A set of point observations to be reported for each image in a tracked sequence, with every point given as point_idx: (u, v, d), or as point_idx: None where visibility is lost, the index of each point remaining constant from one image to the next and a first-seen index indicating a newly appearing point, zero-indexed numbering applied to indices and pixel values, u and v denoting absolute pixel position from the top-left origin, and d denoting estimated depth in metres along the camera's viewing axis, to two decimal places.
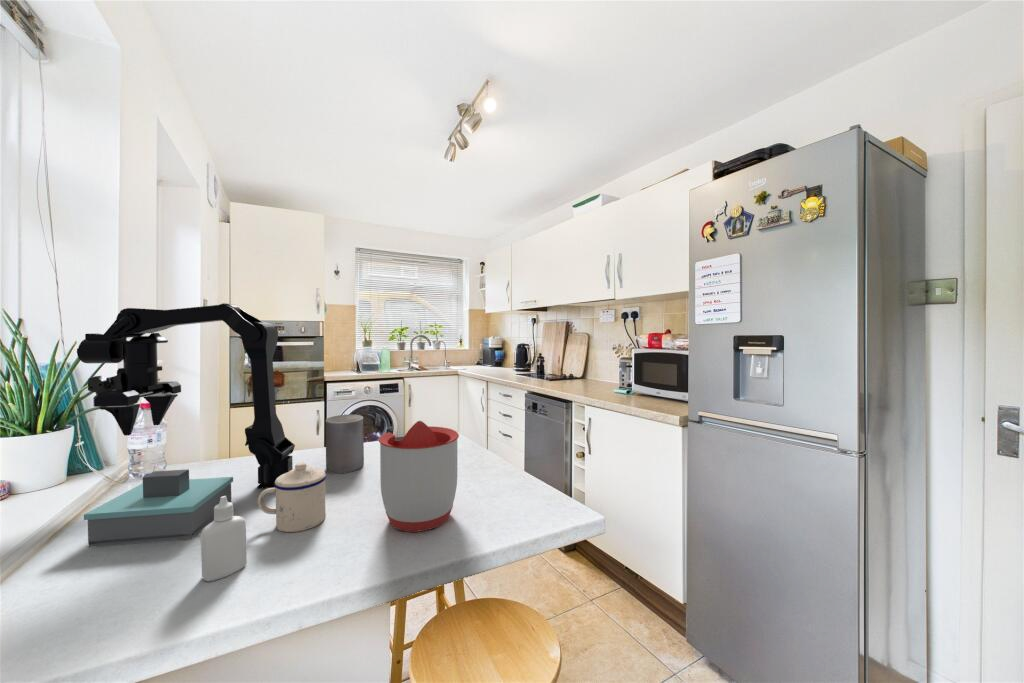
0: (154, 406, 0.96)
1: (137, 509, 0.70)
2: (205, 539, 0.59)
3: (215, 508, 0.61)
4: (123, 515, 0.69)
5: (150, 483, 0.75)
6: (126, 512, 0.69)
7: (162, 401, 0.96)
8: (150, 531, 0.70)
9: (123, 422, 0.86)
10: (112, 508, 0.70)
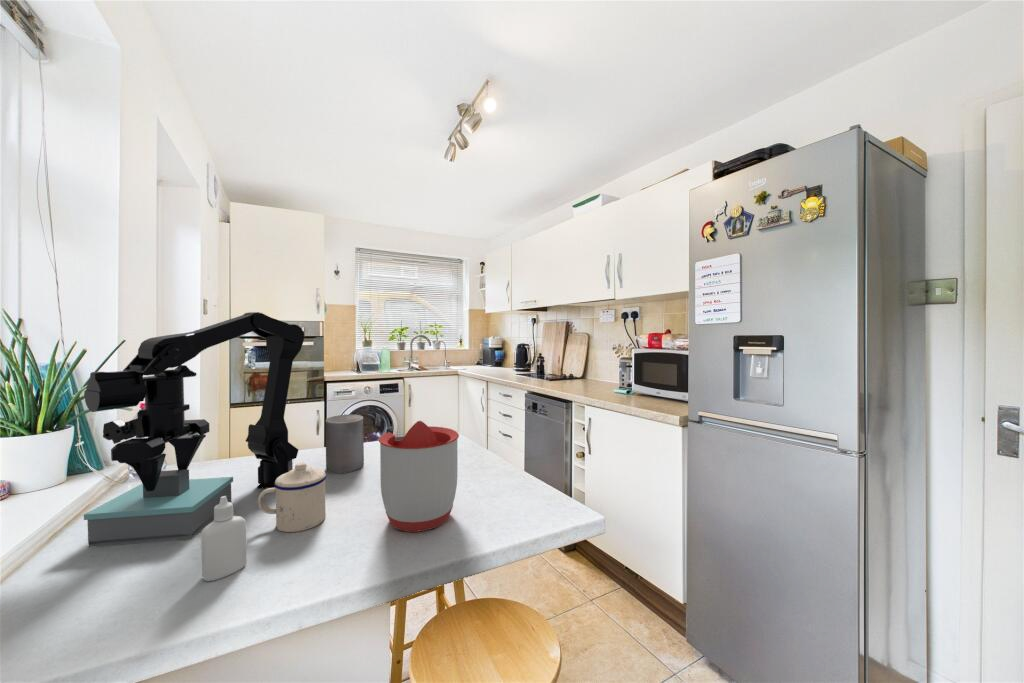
0: (179, 450, 0.81)
1: (137, 509, 0.70)
2: (205, 539, 0.59)
3: (215, 508, 0.61)
4: (123, 515, 0.69)
5: None
6: (126, 512, 0.69)
7: (189, 444, 0.82)
8: (150, 531, 0.70)
9: (146, 476, 0.71)
10: (112, 508, 0.70)
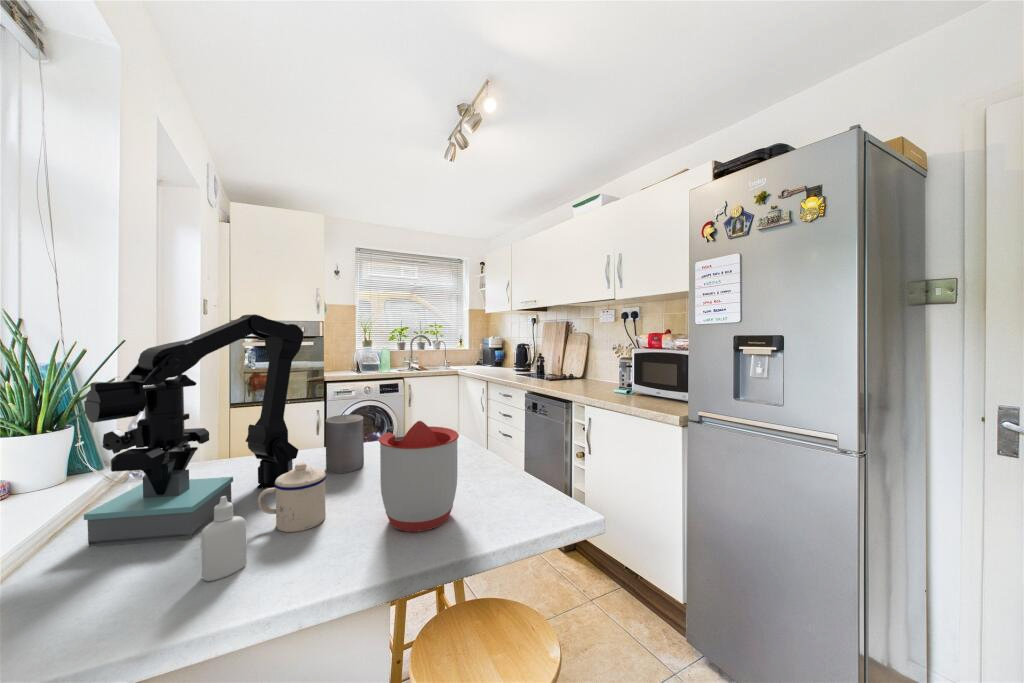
0: None
1: (137, 509, 0.70)
2: (205, 539, 0.59)
3: (215, 508, 0.61)
4: (123, 515, 0.69)
5: (150, 483, 0.75)
6: (126, 512, 0.69)
7: (180, 458, 0.79)
8: (150, 531, 0.70)
9: (156, 481, 0.74)
10: (112, 508, 0.70)
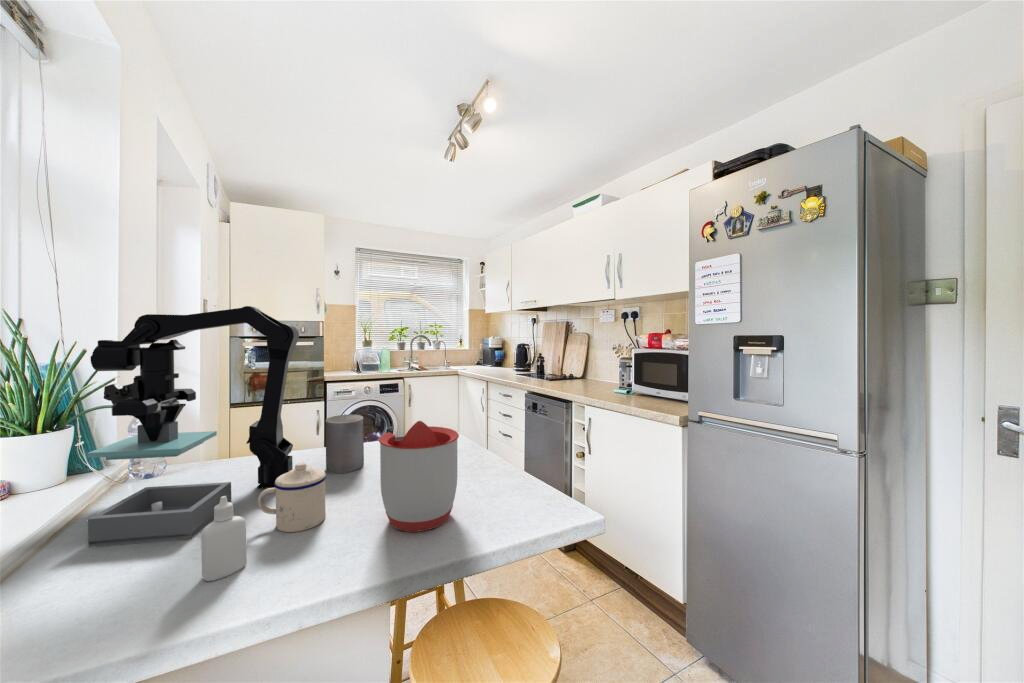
0: None
1: (133, 450, 0.83)
2: (205, 539, 0.59)
3: (215, 508, 0.61)
4: (121, 454, 0.82)
5: (144, 431, 0.87)
6: (124, 452, 0.82)
7: (170, 411, 0.92)
8: (150, 531, 0.70)
9: (150, 428, 0.86)
10: (111, 449, 0.83)
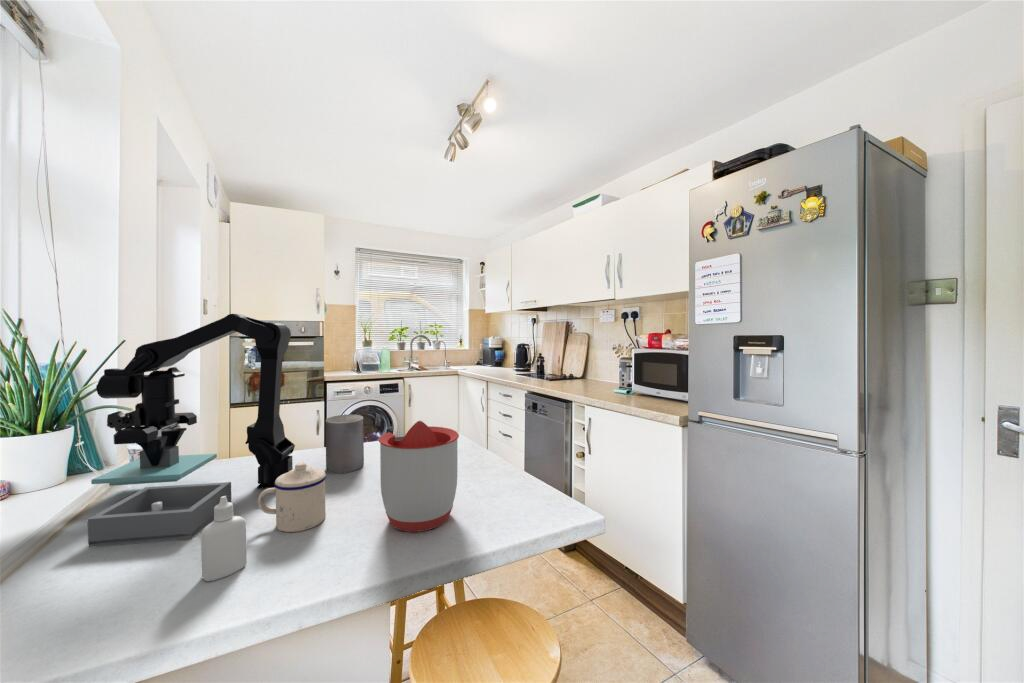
0: None
1: (135, 476, 0.86)
2: (205, 539, 0.59)
3: (215, 508, 0.61)
4: (123, 480, 0.85)
5: (146, 456, 0.90)
6: (126, 478, 0.85)
7: (171, 436, 0.95)
8: (150, 531, 0.70)
9: (151, 454, 0.89)
10: (114, 475, 0.86)
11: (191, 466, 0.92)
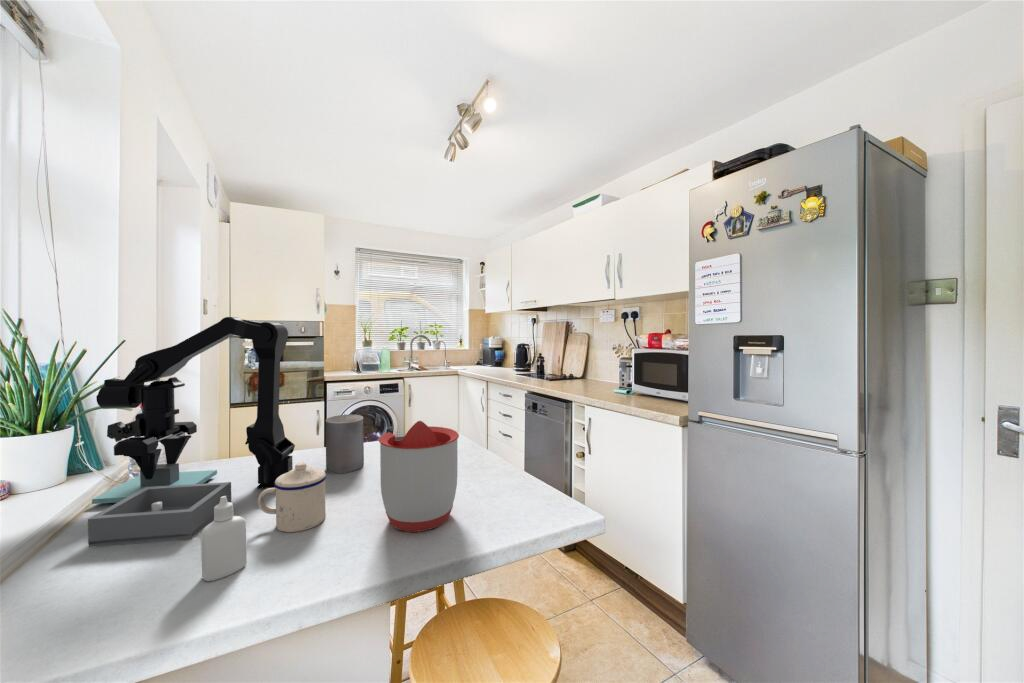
0: (168, 449, 0.96)
1: None
2: (205, 539, 0.59)
3: (215, 508, 0.61)
4: None
5: None
6: (126, 497, 0.85)
7: (176, 443, 0.96)
8: (150, 531, 0.70)
9: (145, 467, 0.88)
10: (114, 494, 0.86)
11: None
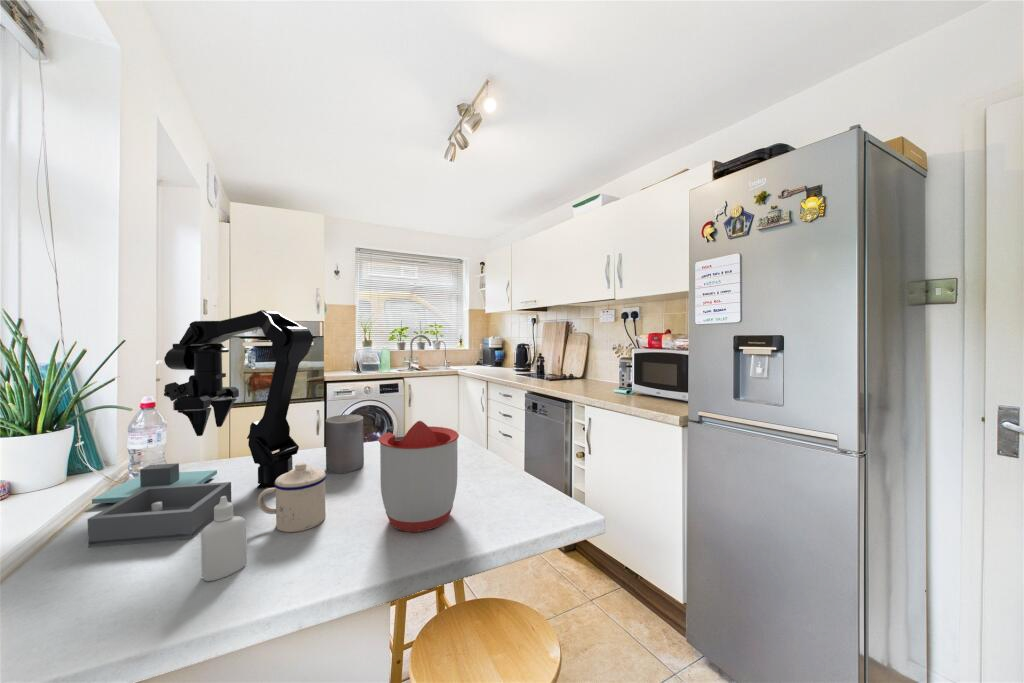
0: (217, 409, 1.05)
1: None
2: (205, 539, 0.59)
3: (215, 508, 0.61)
4: None
5: (146, 474, 0.91)
6: (126, 497, 0.85)
7: (224, 405, 1.06)
8: (150, 531, 0.70)
9: (196, 424, 0.95)
10: (114, 494, 0.86)
11: None
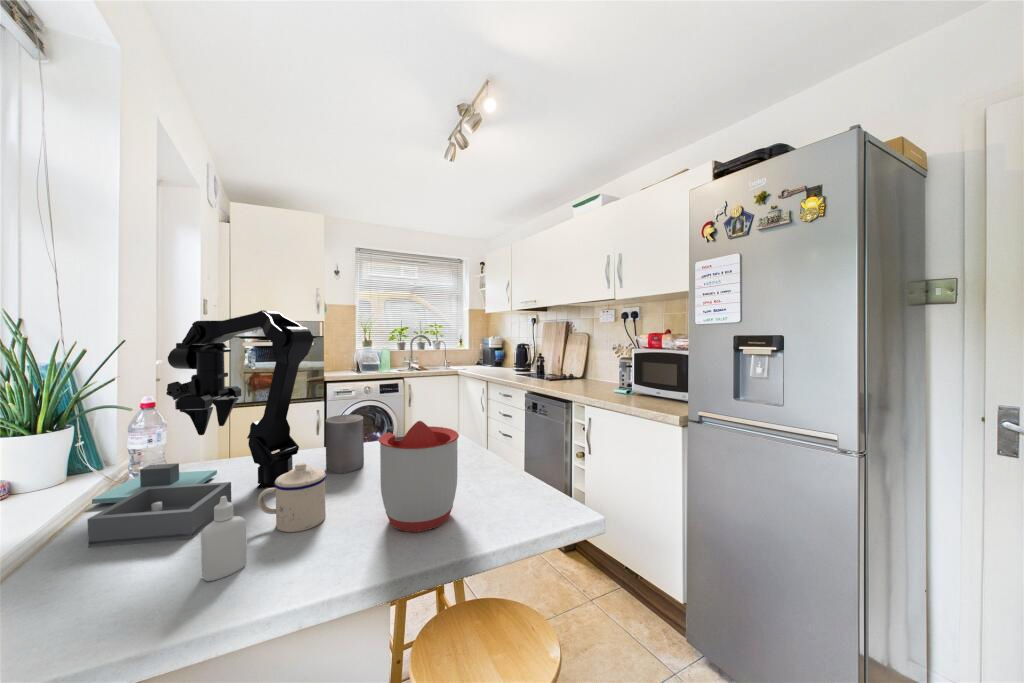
0: (219, 408, 1.06)
1: None
2: (205, 539, 0.59)
3: (215, 508, 0.61)
4: None
5: (146, 474, 0.91)
6: (126, 497, 0.85)
7: (226, 404, 1.06)
8: (150, 531, 0.70)
9: (198, 423, 0.96)
10: (115, 494, 0.86)
11: None
